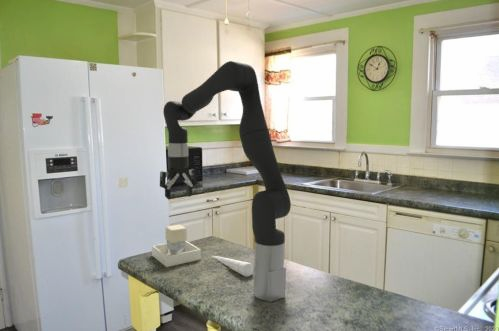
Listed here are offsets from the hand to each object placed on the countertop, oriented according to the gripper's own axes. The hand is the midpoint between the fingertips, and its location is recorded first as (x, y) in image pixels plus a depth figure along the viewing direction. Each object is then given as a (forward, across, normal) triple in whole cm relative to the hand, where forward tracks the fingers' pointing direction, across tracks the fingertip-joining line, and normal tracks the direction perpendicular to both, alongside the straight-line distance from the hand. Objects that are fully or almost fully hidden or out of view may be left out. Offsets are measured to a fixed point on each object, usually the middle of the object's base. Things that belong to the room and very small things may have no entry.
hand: (178, 197), depth 148 cm
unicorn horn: (+25, +12, -18) cm, 33 cm away
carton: (+17, -1, 0) cm, 17 cm away
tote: (+24, -1, +1) cm, 24 cm away
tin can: (+24, -1, +1) cm, 24 cm away
